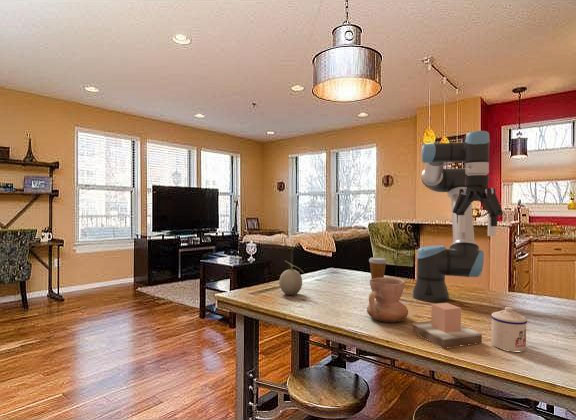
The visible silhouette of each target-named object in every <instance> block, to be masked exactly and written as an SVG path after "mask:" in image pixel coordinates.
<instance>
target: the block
mask: <svg viewBox="0 0 576 420" xmlns="http://www.w3.org/2000/svg"><path fill="white" fill-rule="evenodd" d="M430 309H431V311H430V312H431V315H430V316H431V317H430V321H431V326H432V327H434V328H436V329H438V330H440V331H443V332H453V331H461V325H462V308H461V307H459V306H456V305H454V304H451V303H448V302H438V303H433V304H431V307H430Z"/></svg>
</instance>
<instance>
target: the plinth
mask: <svg viewBox="0 0 576 420" xmlns="http://www.w3.org/2000/svg"><path fill="white" fill-rule="evenodd" d="M413 332H414V334H415V333H416V335H417V334H418V335H417V336H419V335H420V336H419V337H421V336H422V337H421V338H423V337H424V338H426V339H428V340H430V341H431V342H430V341H429V342H430V343H432V342H433V343H432V344H434V343H435V344H437V345H439V346H441V347H442V348H441V347H440V348H441V349H443V348H447V347H454V346H460V345H468V344H474V345H476V344H475V343H481V342H482V341H483V338H482V337H483V336H482V335H483V334H482V332H480V331H476V330H475V329H472V328H469V327H468V326H465V325H463V324H461V331H453V332H443V331H440V330H438V329H436V328H434V327H432V326H431V320H428V321H420V322H413V323H412V333H413ZM424 338H423V339H424ZM426 339H425V340H426ZM428 340H427V341H428ZM435 344H434V345H435ZM481 344H482V343H481ZM437 345H436V346H437ZM439 346H438V347H439ZM468 346H469V345H468ZM454 348H455V347H454ZM447 349H448V348H447Z"/></svg>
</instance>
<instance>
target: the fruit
mask: <svg viewBox="0 0 576 420" xmlns="http://www.w3.org/2000/svg"><path fill="white" fill-rule="evenodd" d="M284 262H285V263H287V264H288V265H290V268H289V269H286V270H284V271H283V272H282V273H281V274H280V277H279V280H278V281H279V283H278V284H279V287H280V289H281V292H282V293H283V294H285V295H287V296H295V295H297V294H299V293H300V291H301V289H302V287H303V277H302V274H300V272H299V271H297V270H296V269H294V268H297V269H298V270H300V271H301V272H302V273H303V274H305V272H304V271H303V270H302V269H301V268H300V267H298V266H296V265H294V264H292V263H291V262H288V261H287V260H284ZM293 267H294V268H293Z"/></svg>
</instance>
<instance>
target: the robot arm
mask: <svg viewBox="0 0 576 420" xmlns="http://www.w3.org/2000/svg"><path fill="white" fill-rule="evenodd" d="M490 142H491V139H490V133H489V132H488V131H486V130H476V131H469V132H468V133H466V135H465V140H464V142H463V141H462V142H444V143H443V142H442V143H441V142H439V143H438V142H437V143H426V144H423V145H422V146H421V162H422V163H424V169H423V170H422V172H421V177H420V179H421V182H422V185H424V187H426V188H427V189H429V190H431V191H433V192H436V193H447V197H448V198H450V201H451V221H452V223H451V224H452V226H451V227H452V243H451V244H450V245H449V248H446V246H445V245H442V244H441V245H439V244H438V245H435V244H434V245H426V246H421V247H418V249H417V257H416V259H417V261H416V263H417V264H416V281H415V284H414V287H413V290H412V297H413V299H416V300H419V301H422V302H429V303H431V302H432V303H446V302H448V301H449V300H450V293H449V290H448V288H447V284H446V276H447V277H448V276H451V277H463V278H464V277H465V278H478V277H480V276H481V274H482V273H483V269H484V268H483V267H484V262H485V261H484V260H485V253H484V251H483V250H482V249H480V246H479V244H478V243H476V242H475V231H474V218H473V203H474V202H479V203H481V204H482V206H483V207H484V209H485V211H486V212H487V214H488V216H487V237H495V236H497V235H496V231H497V226H498V217H499V216H503V215H504V211H503V210H502V207H501V204H500V202H499V200H498V197H497V194H496V188H495V187H488V186H489V183H490V182H489V178H490V177H489V175H488V174H489V173H490V167H489V166H490V163H489V162H490V160H489V159H490V158H489V157H490ZM462 162H463V163H465V164H464V165H465V167H461V168H445V167H444V166H445V163H462Z"/></svg>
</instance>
